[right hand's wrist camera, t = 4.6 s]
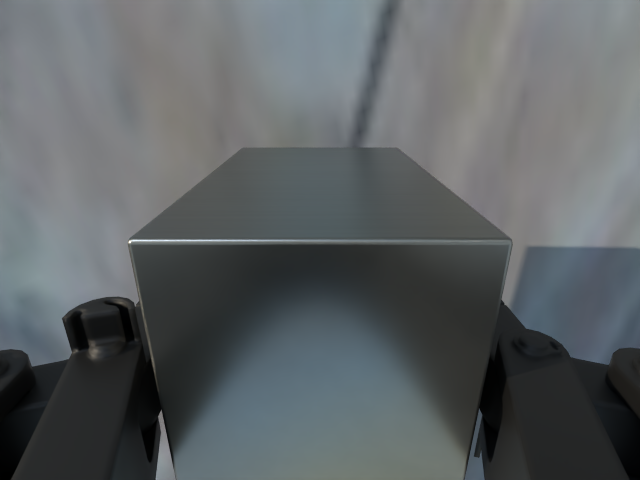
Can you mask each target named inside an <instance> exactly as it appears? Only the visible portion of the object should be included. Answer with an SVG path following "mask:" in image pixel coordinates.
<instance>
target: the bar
mask: <svg viewBox="0 0 640 480" xmlns="http://www.w3.org/2000/svg"><path fill="white" fill-rule="evenodd" d="M512 245H513V244H512V239H511V238H510V237H508V236H507V235H506V234H505V233H503V232H502V231H501V230H500V229H498V228H497V227H496V226H495V225H493V224H492V223H491V222H490V221H488V220H487V219H486V218H485V217H483V216H482V215H481V214H480V213H478V212H477V211H476V210H475V209H473V208H472V207H471V206H470V205H468V204H467V203H466V202H465V201H463V200H462V199H461V198H460V197H458V196H457V195H456V194H455V193H453V192H452V191H451V190H450V189H448V188H447V187H446V186H445V185H443V184H442V183H441V182H440V181H438V180H437V179H436V178H435V177H433V176H432V175H431V174H430V173H428V172H427V171H426V170H425V169H423V168H422V167H421V166H420V165H418V164H417V163H416V162H415V161H413V160H412V159H411V158H410V157H408V156H407V155H406V154H405V153H403V152H402V151H401V150H400V149H398V148H242V149H241V150H239V151H238V152H237V153H236V154H234V155H233V156H232V157H231V158H229V159H228V160H227V161H226V162H224V163H223V164H222V165H221V166H219V167H218V168H217V169H216V170H214V171H213V172H212V173H211V174H209V175H208V176H207V177H206V178H204V179H203V180H202V181H201V182H199V183H198V184H197V185H196V186H194V187H193V188H192V189H191V190H189V191H188V192H187V193H186V194H184V195H183V196H182V197H181V198H179V199H178V200H177V201H176V202H175V203H173V204H172V205H171V206H170V207H168V208H167V209H166V210H165V211H163V212H162V213H161V214H160V215H158V216H157V217H156V218H155V219H153V220H152V221H151V222H150V223H148V224H147V225H146V226H145V227H143V228H142V229H141V230H140V231H138V232H137V233H136V234H135V235H133V236H132V237H131V238H130V239H129V241H128V247H129V252H130V257H131V262H132V267H133V272H134V277H135V281H136V286H137V291H138V296H139V301H140V306H141V311H142V316H143V321H144V325H145V330H146V335H147V340H148V345H149V350H150V355H151V360H152V365H153V370H154V374H155V379H156V384H157V389H158V394H159V399H160V404H161V409H162V414H163V419H164V423H165V428H166V433H167V438H168V443H169V448H170V453H171V458H172V463H173V467H174V472H175V477H176V480H464V479H465V474H466V469H467V464H468V460H469V455H470V450H471V445H472V440H473V435H474V430H475V425H476V421H477V416H478V411H479V406H480V401H481V396H482V391H483V386H484V381H485V377H486V372H487V367H488V362H489V357H490V352H491V347H492V342H493V338H494V333H495V328H496V323H497V318H498V313H499V308H500V303H501V299H502V294H503V289H504V284H505V279H506V274H507V269H508V264H509V259H510V255H511V250H512Z"/></svg>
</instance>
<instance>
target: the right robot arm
mask: <svg viewBox="0 0 640 480" xmlns="http://www.w3.org/2000/svg"><path fill="white" fill-rule="evenodd" d="M62 320H63V323H64V327H65V330H66V333H67V337H68V340H69V343H70V347H71V350H72V354H71V356H70V358H69V359H68V360H64V361H59V362H54V363H49V364H44V365H39V366H34V367H32V366H31V363H30V360H29V357H28V355H27V354H26V353H24V352H23V351H21V350H13V349H9V350H2V351H0V480H155V479H156V470H157V461H158V452H159V444H160V435H161V430H160V424H159V419H158V415H159V413H160V411H161V404H160V399H159V394H158V389H157V384H156V379H155V374H154V370H153V365H152V360H151V355H150V350H149V345H148V340H147V335H146V330H145V325H144V321H143V316H142V311H141V306H140V301H139V302H138V303H137V304H136V307H135V306H134V302H132V301H131V300H130V299H128V298H123V297H105V298H100V299H96V300H92V301H89V302H86V303H84V304H81V305H79V306H77V307H75V308H74V309H72V310H70V311H69V312H68V313H67V314H66V315H65V316H64V317H63V318H62ZM479 409H480V411H481V413H482V419H481V424H480V429H479V434H478V438H477V443H476V448H475V454H474V457H478V458H479V457H480V452H481V451H482V460H483V469H484V478H485V480H640V349H637V348H622V349H618V350H617V351H616V352H614V353H613V355H612V358H611V361H610V364H609V365H605V364H600V363H595V362H590V361H585V360H580V359H575V358H571V357H570V355H569V353H568V352H567V350H566V349H565V348H564V347H563V345H562V344H560V343H559V342H558V341H556V340H555V339H553V338H552V337H550V336H547V335H545V334H543V333H541V332H538V331H534V330H529V329H526V328H525V327H524V326H523V325H522V323H521V322H520V321H519V320H518V319H517V318H516V316H515V315H514V314H513V313H512V312H511V310H510V309H509V308H508V307H507V306H506V305H504V302H503V301H502V300H501V303H500V308H499V313H498V318H497V323H496V328H495V333H494V338H493V342H492V347H491V352H490V357H489V362H488V367H487V372H486V377H485V381H484V386H483V391H482V396H481V401H480V406H479Z"/></svg>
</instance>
